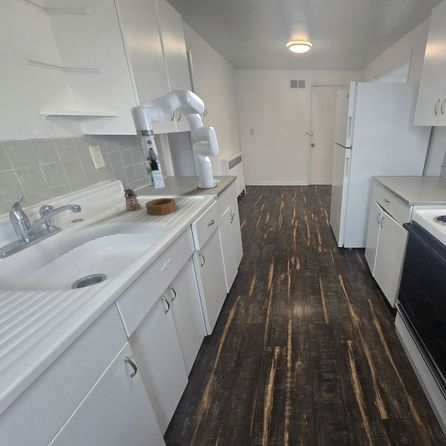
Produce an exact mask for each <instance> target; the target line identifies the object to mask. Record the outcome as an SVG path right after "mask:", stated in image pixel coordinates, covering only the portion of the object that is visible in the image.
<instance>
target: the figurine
mask: <svg viewBox="0 0 446 446" xmlns="http://www.w3.org/2000/svg"><path fill="white" fill-rule="evenodd" d="M123 192H124V198H125V207H126V210H127V211H129V212H134V211H139V210H141V208H142V205H141V204H140V202H139V199H138V195H137V194H136V192H135V190H133V189H132V188H127V189H123Z"/></svg>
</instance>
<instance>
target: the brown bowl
mask: <svg viewBox="0 0 446 446" xmlns="http://www.w3.org/2000/svg"><path fill="white" fill-rule="evenodd" d="M144 205H145V208H146V211H147V214H148V215H150V216H164V215H168V214H171V213H173V212H176V211H177V210H178V206H177V202H176V199H175V198H171V197H161V198H156V199H152V200H148V201H147V202H146V203H145V204H144Z"/></svg>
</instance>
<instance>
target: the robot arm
mask: <svg viewBox="0 0 446 446" xmlns="http://www.w3.org/2000/svg"><path fill="white" fill-rule="evenodd" d="M205 108H206V107H205V104H204V102H203V100H201V98H199V97H198V96H197V95H196V94H195V93H193V92H192V91H190V90H188V89H174V90H171V91H168V92H167V93H165V94H163V95H162V96H160V97H158V98H157V97H156V98H154V99H151V100H148V101H144V102H143V103H141V104H139V105H137V106H132V107H131V108H130V112H131V117H132V120H133V124H134V129H135V133H136V136H137V138H140V143H141V147H142V152H143V154H144V156H145V157H146V161H147V160H150V162H151V163H150V165H151V169H152V171H156V170H159V169H158V165H157V161H156V160H157V159H156V158H157V157H159V152H158V149H157V146H156V142H155V139H154V137H155V132H154V128H153V123H154V124H155V123H162V122H163V121H164V119H165V117H166V116H165V115H166V114H171V113H173V112H174V111H175V110H177V111H178V112H180V114H182V115H183V116H184V117H185V118H186V120H187V122H188V125H189V131H190V134H191V137H192V139H193V140H194V141H195V142H196V143H194V144H193V146H192V151H193V154H194V157H195V161H196V167H197V172H198V173H197V174H198V179H199V184H198V188H199V189H211V188H215V187H216V186H217V183H221V181H220V179H214V176H213V169H212V162H211V160H210V159H209V158H210V157H211V158H212V157H213V158H214V157H217V156H218V155H219V153H220V152H219V151H220V150H219V149H220V148H219V143H218V139H217V135H216V131H215V129H214V127H213V126H209V125H208V126H207V125H204V124H203V120H202V118H201V116H200V115H201V114H204V112H205Z"/></svg>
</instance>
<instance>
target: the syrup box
mask: <svg viewBox="0 0 446 446" xmlns="http://www.w3.org/2000/svg"><path fill="white" fill-rule="evenodd" d="M156 161H157V165H158V169H159V170H156V171H152V169H151V165H150V163H151V162H150V160H147V159H146V160H144V163H145V167H146V172H147V177H148V180H149V185H150V188H151V189H153V190H157V189H158V190H159V189H163V188H165V187H166V186H165V181H164V177H163V172H162V166H161V163H160V160H157V159H156Z"/></svg>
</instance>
